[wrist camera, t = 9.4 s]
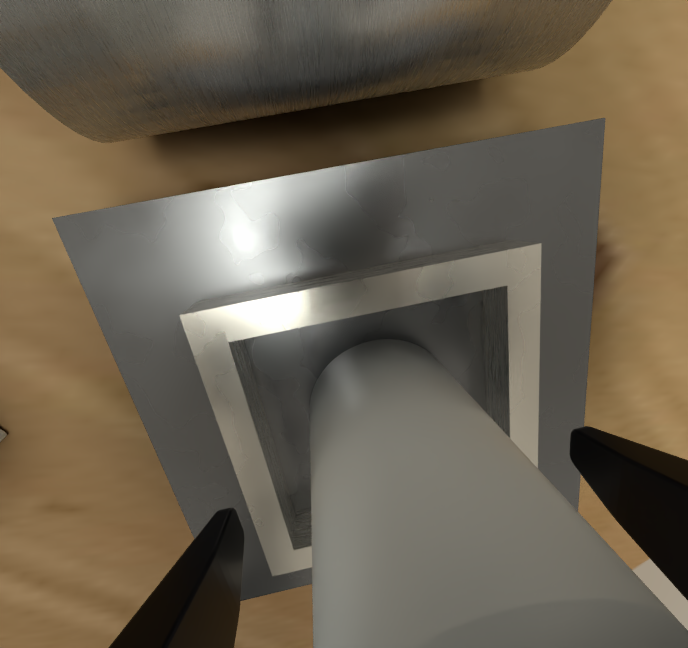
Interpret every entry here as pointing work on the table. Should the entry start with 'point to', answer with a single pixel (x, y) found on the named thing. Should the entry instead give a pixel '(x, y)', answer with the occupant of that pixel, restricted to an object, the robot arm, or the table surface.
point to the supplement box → (2, 435)
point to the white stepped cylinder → (451, 525)
